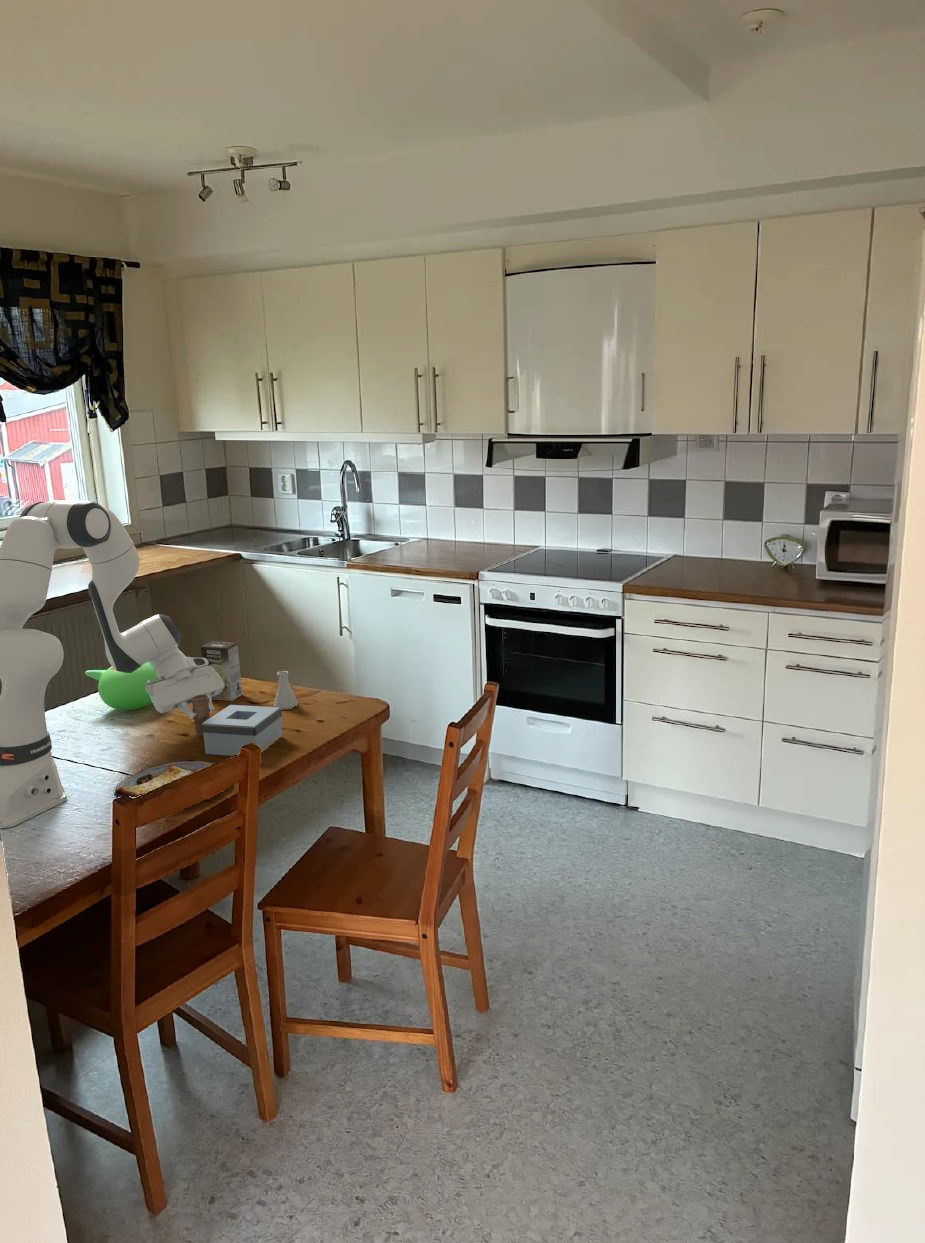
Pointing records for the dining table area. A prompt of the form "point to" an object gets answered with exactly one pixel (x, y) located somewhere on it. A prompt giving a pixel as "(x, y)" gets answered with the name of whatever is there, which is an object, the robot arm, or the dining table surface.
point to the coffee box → (225, 667)
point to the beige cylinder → (200, 712)
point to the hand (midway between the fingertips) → (203, 714)
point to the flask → (284, 693)
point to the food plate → (156, 777)
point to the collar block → (241, 728)
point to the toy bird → (124, 687)
